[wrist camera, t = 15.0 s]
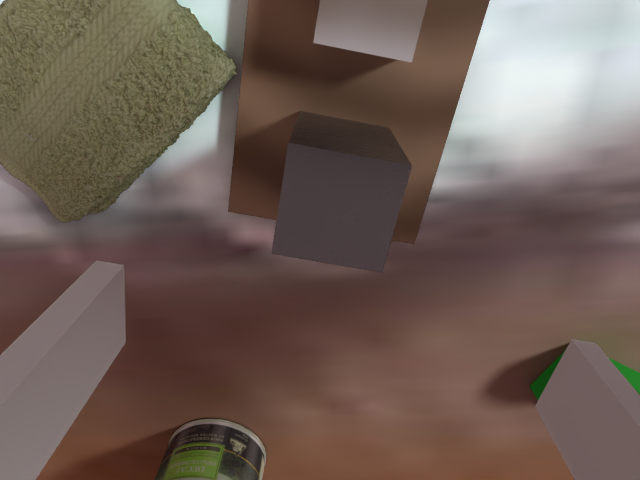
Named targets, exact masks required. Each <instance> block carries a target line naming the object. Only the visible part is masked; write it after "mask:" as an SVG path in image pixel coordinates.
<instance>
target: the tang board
mask: <svg viewBox="0 0 640 480" xmlns="http://www.w3.org/2000/svg"><path fill="white" fill-rule="evenodd" d="M489 1H490V0H249V1H248V11H247V22H246V32H245V42H244V53H243V63H242V74H241V84H240V94H239V105H238V115H237V126H236V136H235V146H234V157H233V167H232V177H231V188H230V198H229V209H228V212H234V213H239V214H245V215H251V216H256V217H262V218H268V219H274V220H277V215H278V208H279V201H280V195H281V188H282V181H283V175H284V168H285V162H286V155H287V148H288V142H289V140H290V137H291V134H292V131H293V129H294V126H295V123H296V121H297V118H298V115H299V113H300V111H304V112H310V113H315V114H320V115H325V116H331V117H336V118H341V119H346V120H352V121H357V122H362V123H367V124H373V125H378V126H383V127H388V128H390V130H391V131H392V133H393V135H394V136H395V138H396V140H397V141H398V143H399V145H400V146H401V148H402V150H403V151H404V153H405V155H406V156H407V158H408V159H409V161H410V163H411V164H412V168H411V172H410V175H409V179H408V182H407V186H406V189H405V193H404V197H403V200H402V204H401V207H400V211H399V214H398V218H397V221H396V225H395V228H394V232H393V236H392V239H391V240H394V241H400V242H405V243H411V244H414V243H415V240H416V237H417V233H418V230H419V227H420V224H421V220H422V217H423V214H424V211H425V207H426V204H427V201H428V198H429V195H430V191H431V188H432V185H433V182H434V178H435V175H436V172H437V169H438V165H439V162H440V159H441V156H442V153H443V149H444V146H445V143H446V140H447V136H448V133H449V130H450V127H451V123H452V120H453V117H454V114H455V110H456V107H457V104H458V101H459V98H460V94H461V91H462V88H463V85H464V81H465V78H466V75H467V72H468V68H469V65H470V62H471V59H472V56H473V52H474V49H475V46H476V43H477V39H478V36H479V33H480V30H481V26H482V23H483V20H484V17H485V14H486V10H487V7H488V4H489Z"/></svg>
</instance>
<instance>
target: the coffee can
mask: <svg viewBox="0 0 640 480" xmlns="http://www.w3.org/2000/svg"><path fill="white" fill-rule="evenodd" d="M265 462H266V452H265V448H264V446H263V444H262V442H261V440H260V439H259V438H258V437H257V436H256V435H255V434H254V433H253V432H252V431H250V430H249V429H247V428H246V427H244V426H242V425H240V424H238V423H235V422H232V421H228V420H223V419H215V418H207V419H200V420H194V421H191V422H188V423H186V424H184V425H182V426H181V427H179V428H178V429H177V430H176V431H175V432H174V433H173V435H172V436H171V438H170V440H169V444H168V447H167V450H166V452H165V455H164V458H163V460H162V463H161V465H160V468H159V470H158V473H157V475H156V478H155V480H262V477H263V471H264V466H265Z"/></svg>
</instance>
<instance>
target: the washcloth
mask: <svg viewBox="0 0 640 480" xmlns="http://www.w3.org/2000/svg"><path fill="white" fill-rule="evenodd" d="M236 71H237V67H236V64H234V62H233V59H232V58H231V59H229V58H228V56H227V54H226V52H225V51H223V50H222V49H221V48H220V46H219V45H217V44H215V43H214V42H213V41H212V37H211V35H209V33H208V32H207V31H205V30H203V28H202V27H201V25H200V24H199V22H198V20H197V18H196V17H195V15H194V14H192V13H191V11H190V8H186V7H182V6H180V5H179V4H178V3H177V1H176V0H5V1H3V2H2V4H1V5H0V163H1V164H2V166H3V167H4V168H5V169H6V170H7V171H8V172H9V173H10V174H11V175H12V176H14V177H15V178H17V179H19V180H21V181H22V182H24V183H25V184H26V185H27V186H29V187H30V188H31V189H32V190H34V191H35V193H36V194H37V195H38V196H39V197H40V198H41V199H42V200H43V201H44V202H45V204H46V205H47V206H48V208H49V209H50V211H51V212H52V214H53V215H54V216H55V217H56V218H57V219H58V220H60V221H61V222H63V223H66V222H69V221H71V220H80V219H81V218H82V217H83V216H87V215H88V213H90V214H97V213H100V212H103V211H105V210H106V209H107V208H108V207H109V206H110V205H111V204H113V203H115V202H116V198H118V196H119V195H120V194H121V193H122V192H123V191H124V190H127V188H129V187H130V186H131V185H132V184H133V181H135V180H136V179H137V178H139V176H140V174H142V173H143V172H144V169H145V168H147V167H150V165H152V163H153V162H154V161H155V160H156V159H157V158H158V157H160V156H161V155H162V153H164V151H165V150H167V149H168V148H167V147H169V146H170V145H173V144H174V143H175V142H176V139H178V138H179V134H180V133H182V132H184V131H185V130H186V129H189V128H190V126H191V125H192V124H193V121H194V120H195V119H196V118H197V117H198V116H200V114H201V113H203V112H205V110H206V109H207V106H208V105H209V104H210V101H212V100H213V98H214V97H216V95H217V94H219V93H220V91H222V90H223V89H224V87H225V86H226V85H227V83H228V82H229V80H231V79H230V78H232V77H233V75H234V74H237V73H236Z"/></svg>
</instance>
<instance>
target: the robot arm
mask: <svg viewBox="0 0 640 480" xmlns="http://www.w3.org/2000/svg"><path fill="white" fill-rule="evenodd" d="M125 343H126V328H125V273H124V265H121V264H115V263H109V262H103V261H97V260H96V261H95V262H94V263H93V264H92V265H91V266H90V267H89V268H88V269H87V270H86V271H85V272H84V273H83V274H82V275H81V276H80V277H79V278H78V279H77V280H76V281H75V282H74V283H73V284H72V285H71V286H70V287H69V288H68V289H67V290H66V291H65V292H64V293H63V294H62V295H61V296H60V297H59V298H58V299H57V300H56V301H55V302H54V303H53V304H52V305H51V306H50V307H49V308H48V309H47V310H46V311H45V312H44V313H43V314H42V315H41V316H39V317H38V318H37V319H36V320H35V321H34V322H33V323H32V324H31V325H30V326H29V327H28V328H27V329H26V330H25V331H24V332H23V333H22V334H21V335H20V336H19V337H18V338H17V339H16V340H15V341H14V342H13V343H12V344H11V345H10V346H9V347H8V348H7V349H6V350H5V351H4V352H3V353H2V354H1V355H0V480H36V478H37V477H38V475H39V474H40V472H41V471H42V469H43V468H44V466H45V464H46V463H47V461H48V460H49V458H50V457H51V455H52V454H53V452H54V451H55V449H56V448H57V446H58V445H59V443H60V442H61V440H62V439H63V437H64V436H65V434H66V433H67V431H68V429H69V428H70V426H71V425H72V423H73V422H74V420H75V419H76V417H77V416H78V414H79V413H80V411H81V410H82V408H83V407H84V405H85V404H86V402H87V401H88V399H89V398H90V396H91V394H92V393H93V391H94V390H95V388H96V387H97V385H98V384H99V382H100V381H101V379H102V378H103V376H104V375H105V373H106V372H107V370H108V369H109V367H110V366H111V364H112V363H113V361H114V359H115V358H116V356H117V355H118V353H119V352H120V350H121V349H122V347H123V346H124V344H125ZM535 407H536V409H537V411H538V413H539V414H540V416H541V418H542V420H543V422H544V424H545V426H546V427H547V429H548V431H549V433H550V435H551V437H552V438H553V440H554V442H555V444H556V446H557V448H558V450H559V451H560V453H561V455H562V457H563V459H564V461H565V462H566V464H567V466H568V468H569V470H570V472H571V474H572V475H573V477H574V479H575V480H640V395H639V394H638V392H637V391H636V390H635V389H634V388H633V387H632V385H631V384H630V383H629V382H628V381H627V379H626V378H625V377H624V376H623V375H622V374H621V372H620V371H619V370H618V369H617V368H616V366H615V365H614V364H613V363H612V362H611V360H610V359H609V358H608V357H607V356H606V355H605V353H604V352H603V351H602V350H601V349H600V347H599V346H598V345H597V344H596V343H591V342H585V341H579V340H573V339H571V341H570V343H569V345H568V347H567V349H566V350H565V352H564V354H563V356H562V358H561V360H560V361H559V363H558V365H557V367H556V369H555V370H554V372H553V374H552V376H551V378H550V380H549V381H548V383H547V385H546V387H545V389H544V391H543V392H542V394H541V396H540V398H539V400H538V402H537V403H536V405H535Z"/></svg>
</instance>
